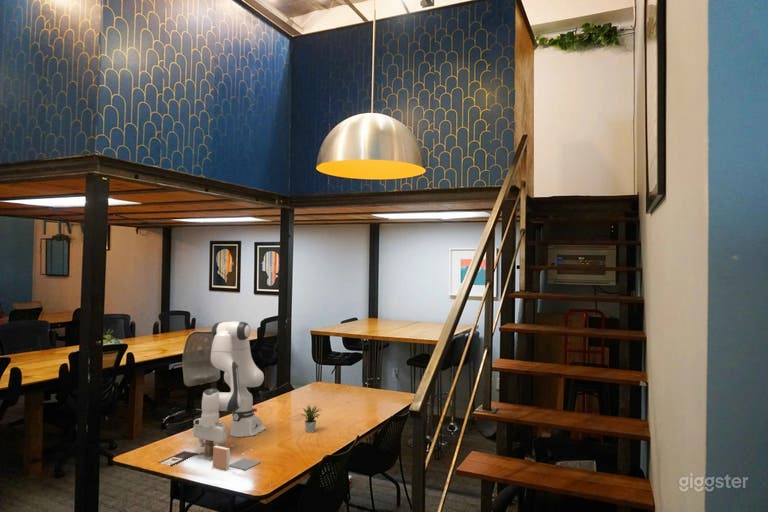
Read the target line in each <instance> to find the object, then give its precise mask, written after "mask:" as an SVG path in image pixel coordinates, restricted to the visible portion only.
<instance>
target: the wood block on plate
mask: <svg viewBox="0 0 768 512" xmlns="http://www.w3.org/2000/svg"><path fill="white" fill-rule="evenodd" d="M204 443H205V447H204V453H203V454H201V455H199V456H198V459H201V458H202V460H206V461H213V447H214V446H215V441H210V440H205V439H204Z"/></svg>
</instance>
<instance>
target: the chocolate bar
mask: <svg viewBox="0 0 768 512" xmlns="http://www.w3.org/2000/svg"><path fill="white" fill-rule="evenodd" d="M194 455H195V456H197V455H199V454H198V452H192V451H186V450H184V451H181V452H179V453H177V454H174V455H172V456H170V457H168V458H166V459H163V460H161V461H159V462H158V463H161V464H165V465H164V466H167V465H170V466H169V467H174V466H176V465H178V464H180V462H181V463H182V461H183V462H184V460H185V461H186V459H187V460H189V459H191V458H193V457H195V456H194ZM192 456H193V457H192ZM190 457H191V458H190ZM188 458H189V459H188ZM161 464H160V465H161ZM175 464H176V465H175ZM173 465H174V466H173Z"/></svg>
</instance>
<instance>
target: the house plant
mask: <svg viewBox="0 0 768 512" xmlns="http://www.w3.org/2000/svg"><path fill="white" fill-rule="evenodd" d="M310 404H311V403H309V405H308V404H307V405H306V408H303V407H302V409H303V411H304V412H305V413H306V414H304V413H301V414H300V415H301V416H304V417H305V418H306V419H304V425H305V427H304V428H305V432H306V431H307V432H306V433H308V432H311V433H313V432H312V431H314V432H315V431H316V426H317V425H316V424H317V420H316V419H315V418H317V419H318V420H319V416H321V413H318V412H321V411H323V409H321V407H320V408H318V405H316V404H314V406H313V407H311V405H310Z"/></svg>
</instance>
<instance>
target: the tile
mask: <svg viewBox="0 0 768 512" xmlns="http://www.w3.org/2000/svg"><path fill="white" fill-rule="evenodd" d="M230 452H231V448H229V447H225V446H220V445H219V446H216V445H214V447H213V460H212V468H214V469H219V470H222V471H227V472H228V471H229V470H230V467H229V465H230V464H231V463H230V461H231V460H230V459H231V457H230V454H231V453H230Z"/></svg>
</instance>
